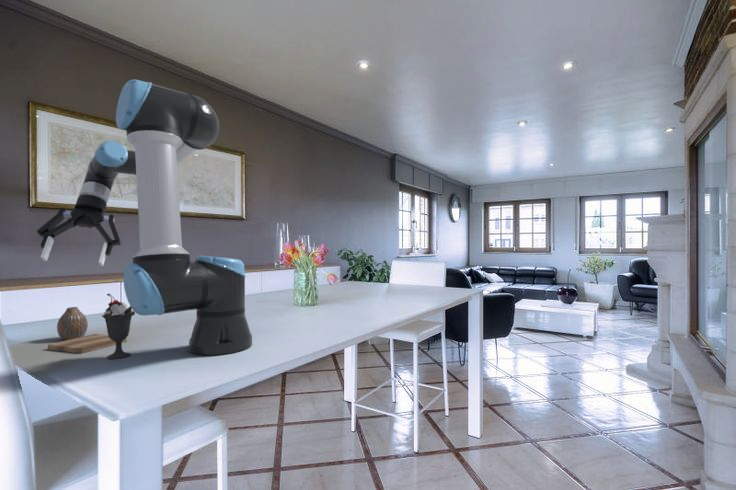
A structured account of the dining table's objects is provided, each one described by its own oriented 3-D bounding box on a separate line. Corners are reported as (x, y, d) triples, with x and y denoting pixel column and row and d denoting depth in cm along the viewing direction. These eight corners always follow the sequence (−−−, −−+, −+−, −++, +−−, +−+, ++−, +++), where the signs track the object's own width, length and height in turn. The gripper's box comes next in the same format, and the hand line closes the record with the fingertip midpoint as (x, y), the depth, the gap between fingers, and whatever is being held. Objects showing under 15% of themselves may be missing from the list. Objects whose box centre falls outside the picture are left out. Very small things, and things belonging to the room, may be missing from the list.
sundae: (96, 357, 90) (95, 293, 90) (127, 350, 95) (127, 290, 95) (108, 362, 86) (108, 295, 86) (140, 355, 92) (139, 292, 91)
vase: (71, 342, 104) (70, 310, 104) (50, 341, 106) (50, 309, 106) (93, 336, 111) (93, 306, 111) (74, 335, 112) (74, 305, 112)
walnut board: (126, 341, 105) (126, 337, 105) (81, 353, 93) (81, 348, 93) (94, 338, 108) (94, 334, 108) (47, 349, 97) (47, 344, 97)
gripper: (139, 212, 127) (124, 271, 117) (47, 199, 118) (22, 262, 108) (137, 200, 121) (121, 261, 111) (39, 185, 112) (13, 250, 102)
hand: (72, 261), depth 110 cm, fingers open, 13 cm apart
